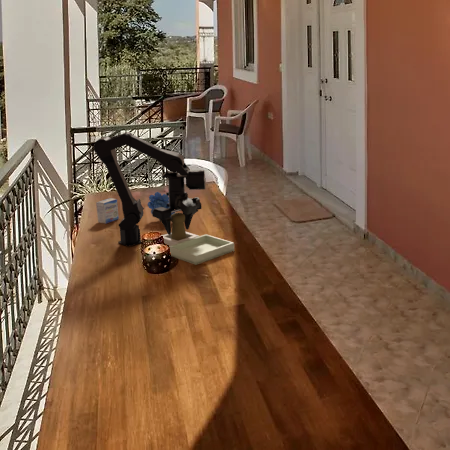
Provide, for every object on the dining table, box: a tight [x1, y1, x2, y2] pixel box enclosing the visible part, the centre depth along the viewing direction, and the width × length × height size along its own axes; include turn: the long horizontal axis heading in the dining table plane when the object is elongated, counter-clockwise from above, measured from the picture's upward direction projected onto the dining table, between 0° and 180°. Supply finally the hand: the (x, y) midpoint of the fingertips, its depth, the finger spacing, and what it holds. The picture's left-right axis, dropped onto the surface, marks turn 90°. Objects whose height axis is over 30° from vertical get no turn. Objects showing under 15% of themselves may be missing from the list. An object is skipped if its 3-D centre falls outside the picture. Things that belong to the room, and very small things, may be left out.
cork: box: [171, 212, 187, 241], centre depth 206 cm, size 6×6×11 cm
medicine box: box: [95, 197, 120, 225], centre depth 235 cm, size 8×4×9 cm, turn 147°
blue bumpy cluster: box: [147, 191, 176, 221], centre depth 233 cm, size 12×7×12 cm, turn 77°
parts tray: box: [169, 233, 235, 266], centre depth 197 cm, size 18×14×3 cm
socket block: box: [161, 231, 200, 246], centre depth 208 cm, size 10×10×2 cm
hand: (178, 231), depth 207 cm, fingers open, 8 cm apart
